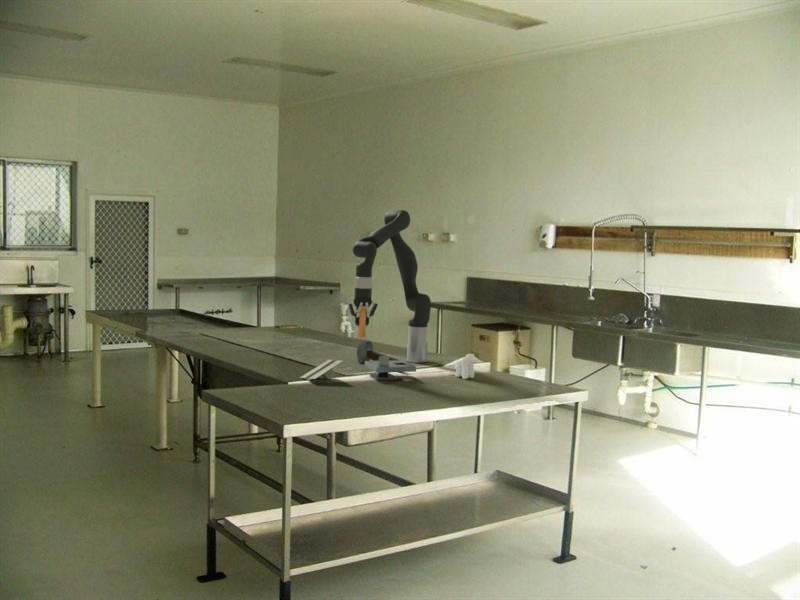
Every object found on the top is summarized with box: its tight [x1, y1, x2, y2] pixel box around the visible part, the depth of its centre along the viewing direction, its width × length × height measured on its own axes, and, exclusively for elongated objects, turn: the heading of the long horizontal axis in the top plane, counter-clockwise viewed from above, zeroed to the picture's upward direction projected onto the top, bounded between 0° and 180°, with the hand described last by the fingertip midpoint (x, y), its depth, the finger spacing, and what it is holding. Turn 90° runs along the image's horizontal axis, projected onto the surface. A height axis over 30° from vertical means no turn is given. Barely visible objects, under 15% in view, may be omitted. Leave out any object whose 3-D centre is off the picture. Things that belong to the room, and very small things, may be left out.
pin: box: [357, 306, 366, 338], centre depth 374 cm, size 4×4×14 cm
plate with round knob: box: [364, 355, 417, 381], centre depth 365 cm, size 18×16×9 cm
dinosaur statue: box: [442, 353, 484, 380], centre depth 374 cm, size 7×24×11 cm, turn 44°
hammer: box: [356, 339, 401, 374], centre depth 389 cm, size 5×11×30 cm
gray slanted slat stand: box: [299, 359, 344, 381], centre depth 352 cm, size 16×9×15 cm
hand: (361, 325), depth 374 cm, fingers closed on pin, 3 cm apart
